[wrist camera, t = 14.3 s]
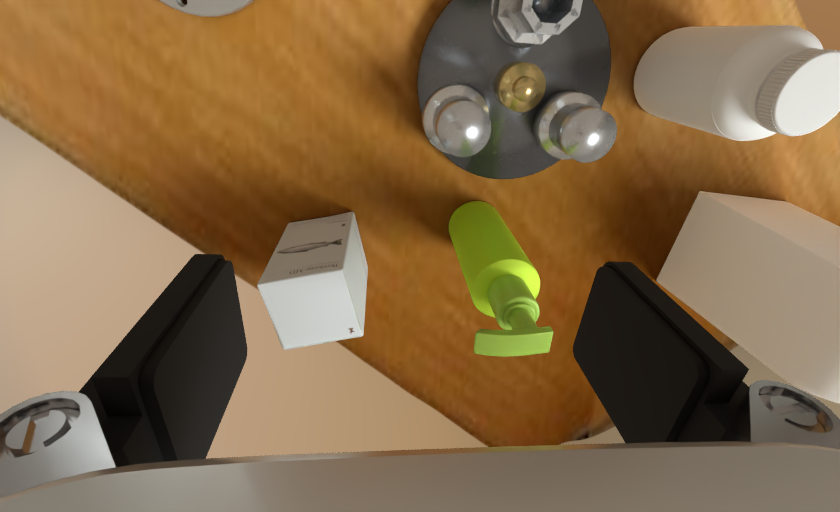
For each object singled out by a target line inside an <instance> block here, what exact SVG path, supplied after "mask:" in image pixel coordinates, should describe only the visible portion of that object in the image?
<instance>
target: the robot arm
mask: <svg viewBox="0 0 840 512" xmlns="http://www.w3.org/2000/svg"><path fill="white" fill-rule="evenodd" d="M159 1H161V2H163V3H164V4H166V5H168V6H169V7H172V8H174V9H177V10H179V11H182V12H184V13H188V14H193V15H197V16H205V17H217V16H226V15H229V14H232V13H235V12H238V11H240V10H242V9H243V8H245V7H246V6H248V5H249V4H251V3H252V2H253V1H254V0H187V5H185V4H184V2H183V0H159ZM573 354H574V357H575V359H576V361H577V363H578V364H579V366H580V368H581V369H582V371H583V373H584V374H585V376H586V378H587V379H588V381H589V383H590V384H591V386H592V388H593V389H594V391H595V393H596V394H597V396H598V398H599V399H600V401H601V403H602V404H603V406H604V408H605V409H606V411H607V413H608V414H609V416H610V418H611V419H612V421H613V423H614V424H615V426H616V428H617V429H618V431H619V433H620V434H621V436H622V437H623V439H624V441H625V443H620V444H619V443H618V444H586V445H585V444H583V445H582V444H581V445H545V446H514V447H485V448H484V447H483V448H453V449H423V450H395V451H368V452H342V453H318V454H317V453H316V454H290V455H269V456H268V455H267V456H251V457H250V456H248V457H231V458H230V457H229V458H211V459H205V458H206V456H207V453H208V451H209V449H210V446H211V444H212V441H213V439H214V436H215V434H216V432H217V429H218V427H219V424H220V422H221V419H222V417H223V414H224V412H225V410H226V407H227V405H228V403H229V400H230V398H231V395H232V393H233V390H234V388H235V385H236V383H237V381H238V378H239V376H240V373H241V371H242V369H243V366H244V364H245V361H246V357H247V344H246V338H245V333H244V326H243V321H242V315H241V310H240V303H239V298H238V292H237V286H236V280H235V275H234V269H233V264H232V262H231V261H225V259H224V257H223V256H222V255H216V254H195V255H194V256H193V257H192V258H191V259H190V260H189V262H188V263H187V264H186V265H185V266H184V267H183V269H182V270H181V271H180V272H179V273H178V275H177V276H176V277H175V278H174V279H173V281H172V282H171V283H170V284H169V285H168V286H167V288H166V289H165V290H164V291H163V292H162V294H161V295H160V296H159V297H158V299H156V301H155V302H154V303H153V304H152V305H151V307H150V308H149V309H148V310H147V311H146V313H145V314H144V315H143V316H142V317H141V318H140V320H139V321H138V322H137V323H136V324H135V326H134V327H133V328H132V329H131V330H130V332H129V333H128V334H127V335H126V336H125V337H124V339H123V340H122V341H121V342H120V343H119V345H118V346H117V347H116V348H115V349H114V351H113V352H112V353H111V354H110V355H109V357H108V358H107V359H106V360H105V361H104V362H103V364H102V365H101V366H100V367H99V368H98V370H97V371H96V372H95V373H94V374H93V375H92V377H91V378H90V379H89V380H88V382H87V383H86V384H85V385H84V387H82V389H81V390H80V391H79V392H75V391H59V392H53V393H46V394H44V395H41V396H37V397H34V398H31V399H28V400H26V401H24V402H22V403H20V404H17V405H15V406H13V407H11V408H10V409H8V410H7V411H5V412H4V413H2V414H0V512H840V419H839V418H838V417H837V416H836V415H835V414H834V413H833V412H832V411H831V409H829V408H828V407H827V406H825V405H824V404H823V403H821V402H820V401H819V400H817V399H816V398H814V397H812V396H811V395H809V394H807V393H806V392H803V391H801V390H799V389H797V388H795V387H793V386H790V385H787V384H784V383H780V382H777V381H769V380H760V381H756V382H754V383H752V384H751V385H750V387H748V386H747V385H746V384H745V383H744V382H743V381H742V380H743V379H744V377H745V375H746V374H747V372H748V370H749V369H748V368H747V367H746V366H745V365H744V364H743V363H742V362H740V361H739V360H738V359H737V358H736V357H735V356H734V355H733V354H732V353H731V352H729V351H728V350H727V349H726V348H725V347H724V346H723V345H722V344H721V343H720V342H718V341H717V340H716V339H715V338H714V337H713V336H712V335H711V334H710V333H709V332H707V331H706V330H705V329H704V328H703V327H702V326H701V325H700V324H699V323H698V322H697V321H695V320H694V319H693V318H692V317H691V316H690V315H689V314H688V313H687V312H686V311H684V310H683V309H682V308H681V307H680V306H679V305H678V304H677V303H676V302H675V301H673V300H672V299H671V298H670V297H669V296H668V295H667V294H666V293H665V292H664V291H662V290H661V289H660V288H659V287H658V286H657V285H656V284H655V283H654V282H653V281H651V280H650V279H649V278H648V277H647V276H646V275H645V274H644V273H643V272H642V271H640V270H639V269H638V268H637V267H636V266H635V265H634V264H633V263H631V262H607V263H605V264H604V266H603V267H600V268H599V269H598V270H597V272H596V275H595V279H594V282H593V285H592V288H591V291H590V294H589V297H588V301H587V304H586V307H585V310H584V313H583V316H582V320H581V323H580V326H579V329H578V332H577V335H576V338H575V342H574V345H573Z"/></svg>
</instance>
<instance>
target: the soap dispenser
mask: <svg viewBox="0 0 840 512" xmlns="http://www.w3.org/2000/svg"><path fill="white" fill-rule="evenodd" d="M449 234H450V237H451V240H452V243H453V246H454V248H455V251H456V254H457V257H458V260H459V263H460V266H461V269H462V272H463V275H464V277H465V280H466V283H467V286H468V289H469V292H470V295H471V298H472V301H473V303H474V305H475V306H476V307H477V309H478V310H479V311H481V312H482V313H484V314H486V315H488V316H491V317H495V318H496V320H497V322H498V324H499V326H500V327H501V328H503V329H504V330H488V329H480V330H478V331H477V332H476V334H475V344H474V353H476V354H482V355H491V356H521V355H531V354H539V353H547V352H549V350H550V345H551V340H552V335H553V330H552V328H551V327H550V326H549V327H537V325H536V323H535V322H536V320H537V319H538V317H539V312H540V310H539V306H538V303H537V302H536V300H535V299H536V297H537V295H538V293H539V289H540V278H539V275H538V273H537V271H536V269H535V268H534V266H533V265H532V263H531V262H530V260H529V259H528V257H527V256H526V254H525V253H524V251H523V250H522V248H521V247H520V245H519V244H518V242H517V241H516V239H515V238H514V236H513V235H512V233H511V231H510V230H509V228H508V227H507V225H506V224H505V222H504V221H503V219H502V218H501V216H500V215H499V213H498V212H497V210H496V209H495V208H494V207H493V206H492V205H490V204H488V203H486V202H482V201H472V202H468V203H465V204H463V205H462V206H460V207H459V208H458V209H456V210H455V212H454V213H453V214H452V216H451V218H450V221H449Z"/></svg>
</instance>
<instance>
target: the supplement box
mask: <svg viewBox="0 0 840 512" xmlns="http://www.w3.org/2000/svg"><path fill="white" fill-rule="evenodd" d="M367 272H368V266H367V262H366V258H365V254H364V250H363V246H362V242H361V238H360V234H359V230H358V226H357V222H356V218H355V214H354V212H348V213H343V214H339V215H334V216H329V217H323V218H317V219H311V220H305V221H298V222H290V223H288V225H287V227H286V229H285V231H284V233H283V235H282V237H281V239H280V241H279V243H278V245H277V247H276V249H275V251H274V253H273V255H272V256H271V259H270V261H269V262H268V264H267V267H266V269H265V271H264V272H263V274H262V276H261V278H260V280H259V282H258V284H257V286H258V288H259V291H260V293H261V295H262V298H263V300H264V303H265V305H266V307H267V310H268V312H269V315H270V317H271V320H272V322H273V325H274V328H275V330H276V333H277V335H278V338H279V340H280V343H281V346H282V348H283V349H285V350H287V349H293V348H298V347H304V346H310V345H315V344H321V343H328V342H332V341H338V340H344V339H350V338H355V337H362V336H363V334H364V318H365V303H366V287H367Z"/></svg>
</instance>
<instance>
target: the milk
mask: <svg viewBox="0 0 840 512" xmlns="http://www.w3.org/2000/svg"><path fill="white" fill-rule="evenodd" d="M656 281H657V282H658V283H659V284H661V285H662V286H663V287H664V288H666V289H667V290H668V291H670V292H671V293H672V294H674V295H675V296H676V297H677V298H679V299H680V300H681V301H683V302H684V303H685V304H687V305H688V306H689V307H690V308H692V309H693V310H694V311H696V312H697V313H698V314H700V315H701V316H702V317H703V318H705V319H706V320H707V321H709V322H710V323H711V324H713V325H714V326H715V327H716V328H718V329H719V330H720V331H722V332H723V333H724V334H726V335H727V336H728V337H729V338H731V339H732V340H733V341H735V342H736V343H737V344H739V345H740V346H741V347H743V348H744V349H745V350H746V351H748V352H749V353H750V354H752V355H753V356H754V357H755V358H757V359H758V360H760V361H761V362H762V363H763V364H765V365H766V366H767V367H768V368H770V369H771V370H772V371H774V372H775V373H776V374H778V375H779V376H780V377H781V378H783V379H784V380H786V381H787V382H789V383H790V384H792V385H794V386H795V387H797V388H799V389H801V390H804V391H806V392H808V393H811V394H813V395H816V396H819V397H821V398H824V399H827V400H830V401H833V402H836V403H839V404H840V227H839V226H837V225H835V224H833V223H831V222H829V221H827V220H825V219H822V218H820V217H818V216H816V215H814V214H812V213H810V212H808V211H806V210H804V209H801V208H799V207H797V206H795V205H793V204H791V203H789V202H786V201H778V200H769V199H761V198H753V197H745V196H736V195H728V194H720V193H712V192H703V191H699V193H698V195H697V198H696V200H695V202H694V204H693V206H692V208H691V210H690V212H689V214H688V216H687V218H686V220H685V222H684V224H683V226H682V228H681V230H680V232H679V235H678V237H677V239H676V241H675V243H674V245H673V247H672V249H671V251H670V253H669V255H668V257H667V259H666V261H665V263H664V265H663V267H662V269H661V272H660V274H659V276H658V278H657V280H656Z"/></svg>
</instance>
